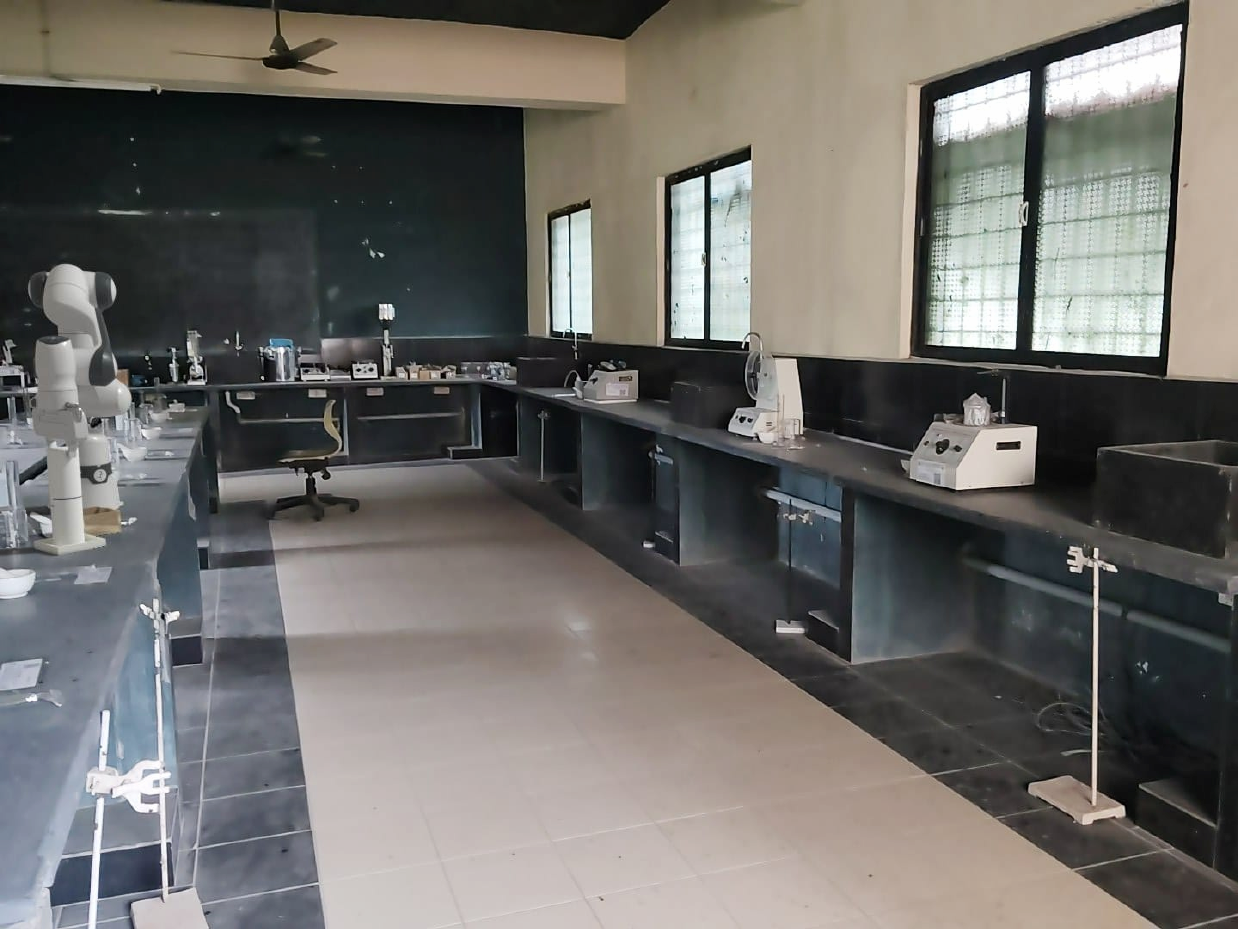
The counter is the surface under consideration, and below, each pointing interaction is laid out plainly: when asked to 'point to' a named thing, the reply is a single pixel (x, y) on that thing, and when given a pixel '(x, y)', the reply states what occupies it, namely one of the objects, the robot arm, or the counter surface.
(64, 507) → the cylindrical container
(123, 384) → the robot arm
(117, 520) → the holder
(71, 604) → the counter surface
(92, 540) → the tray
